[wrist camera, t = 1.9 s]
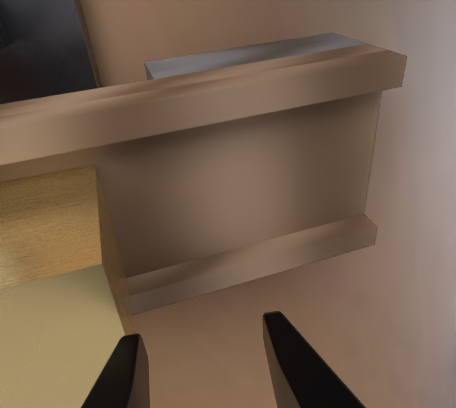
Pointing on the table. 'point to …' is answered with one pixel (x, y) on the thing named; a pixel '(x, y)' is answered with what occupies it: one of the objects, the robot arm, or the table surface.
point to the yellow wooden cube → (58, 289)
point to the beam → (220, 159)
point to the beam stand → (44, 50)
